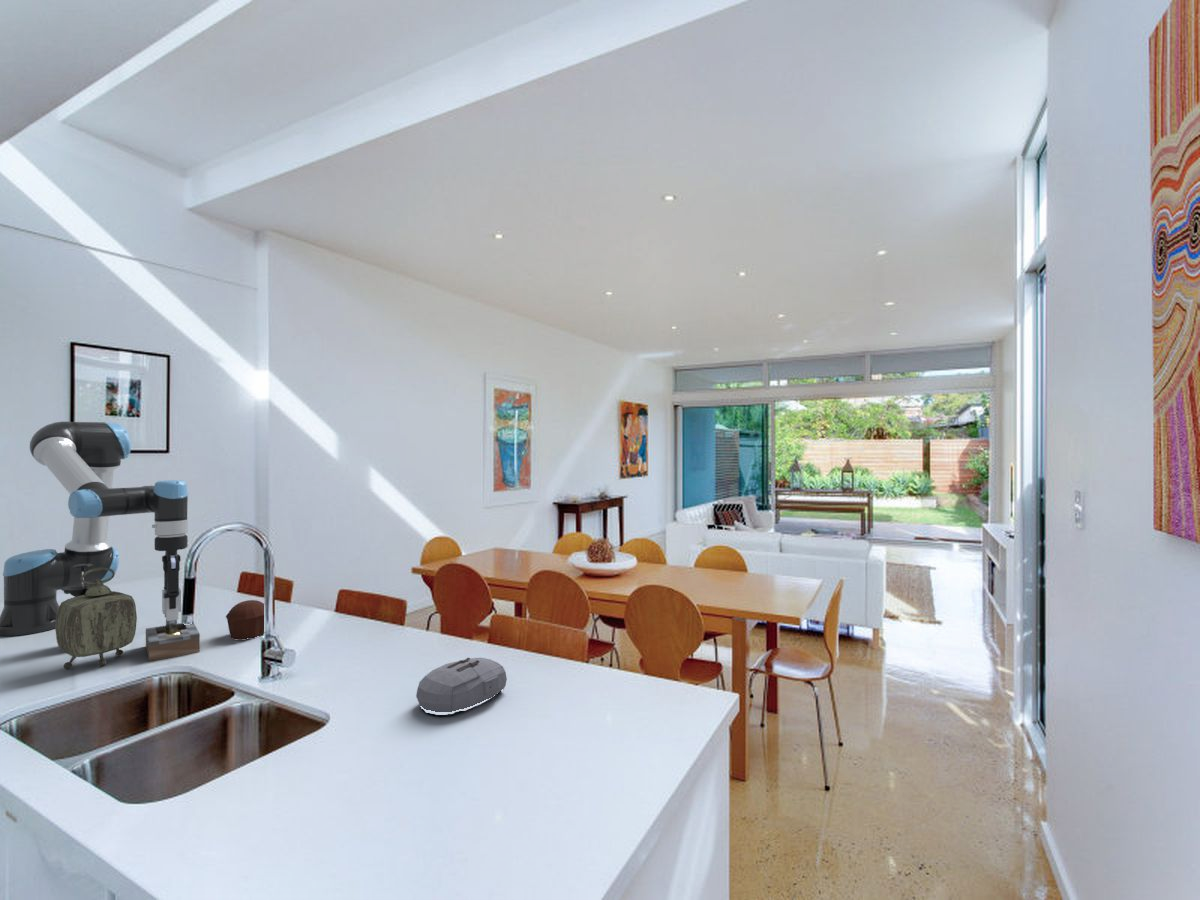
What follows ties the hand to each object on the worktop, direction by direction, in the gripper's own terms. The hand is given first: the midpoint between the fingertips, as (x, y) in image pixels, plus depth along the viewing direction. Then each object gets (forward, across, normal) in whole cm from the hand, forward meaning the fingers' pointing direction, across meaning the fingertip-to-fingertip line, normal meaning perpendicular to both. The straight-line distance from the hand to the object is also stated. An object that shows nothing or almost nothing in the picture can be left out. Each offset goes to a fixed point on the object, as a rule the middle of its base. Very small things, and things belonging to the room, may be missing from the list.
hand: (171, 617), depth 165 cm
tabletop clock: (+8, +5, -16) cm, 18 cm away
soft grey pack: (+9, +84, +46) cm, 96 cm away
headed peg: (+6, 0, 0) cm, 6 cm away
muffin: (+8, +2, +18) cm, 20 cm away
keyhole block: (+8, +3, 0) cm, 9 cm away
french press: (+8, -17, -18) cm, 26 cm away
